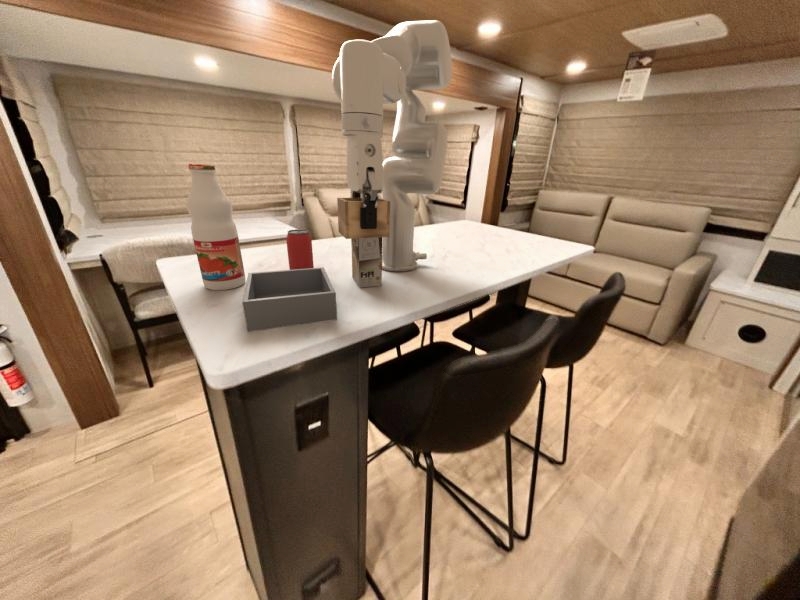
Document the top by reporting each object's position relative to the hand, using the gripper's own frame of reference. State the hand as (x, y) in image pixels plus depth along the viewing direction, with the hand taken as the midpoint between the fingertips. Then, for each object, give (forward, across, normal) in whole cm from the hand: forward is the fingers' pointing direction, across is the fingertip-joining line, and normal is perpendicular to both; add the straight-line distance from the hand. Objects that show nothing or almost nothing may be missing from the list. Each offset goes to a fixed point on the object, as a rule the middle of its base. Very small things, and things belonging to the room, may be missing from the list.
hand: (363, 224), depth 64 cm
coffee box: (+18, +14, -5) cm, 23 cm away
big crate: (+18, +2, +16) cm, 24 cm away
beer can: (+18, +25, +11) cm, 33 cm away
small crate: (+2, 0, 0) cm, 2 cm away
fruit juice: (+18, +22, +30) cm, 41 cm away
